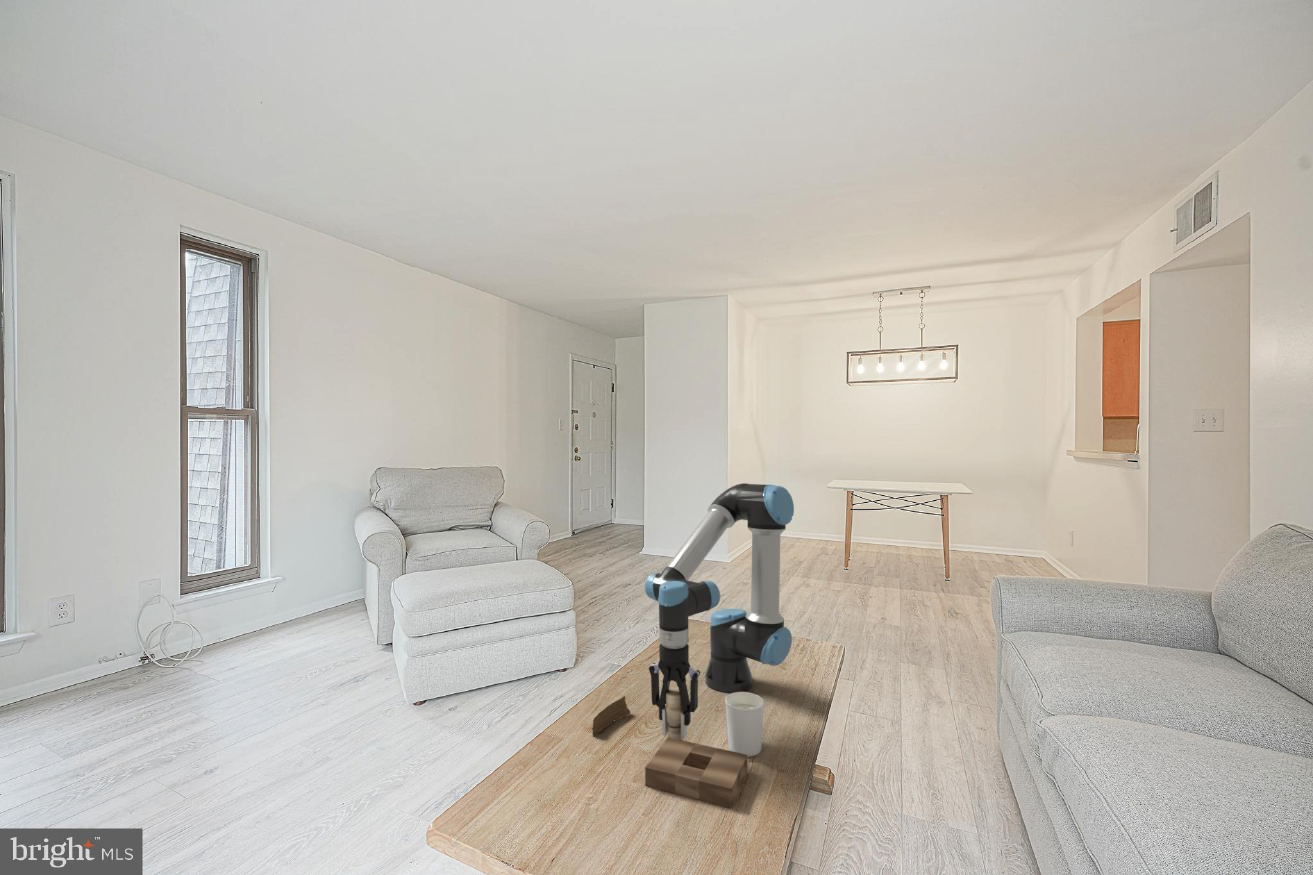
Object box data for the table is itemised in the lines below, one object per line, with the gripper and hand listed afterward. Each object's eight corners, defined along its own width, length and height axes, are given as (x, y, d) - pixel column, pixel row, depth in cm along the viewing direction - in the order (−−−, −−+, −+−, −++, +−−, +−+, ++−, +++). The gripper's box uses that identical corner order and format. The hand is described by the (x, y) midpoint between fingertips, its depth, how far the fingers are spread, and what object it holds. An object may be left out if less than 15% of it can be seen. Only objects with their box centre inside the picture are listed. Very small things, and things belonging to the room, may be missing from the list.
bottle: (670, 733, 144) (669, 687, 144) (685, 736, 142) (685, 690, 142) (663, 742, 140) (663, 694, 140) (680, 745, 138) (679, 697, 138)
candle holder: (734, 761, 133) (734, 711, 134) (719, 740, 143) (719, 694, 143) (771, 755, 136) (771, 706, 136) (753, 735, 145) (753, 689, 146)
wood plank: (596, 738, 144) (596, 718, 144) (590, 736, 145) (590, 716, 145) (630, 714, 157) (630, 696, 157) (624, 712, 158) (624, 694, 158)
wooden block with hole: (668, 753, 137) (668, 737, 137) (747, 771, 129) (747, 754, 129) (645, 785, 124) (645, 767, 124) (731, 807, 116) (731, 788, 116)
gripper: (637, 644, 141) (637, 735, 141) (701, 653, 134) (702, 749, 134) (648, 634, 148) (649, 721, 148) (710, 643, 141) (711, 734, 141)
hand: (674, 734), depth 141 cm, fingers closed on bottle, 4 cm apart
